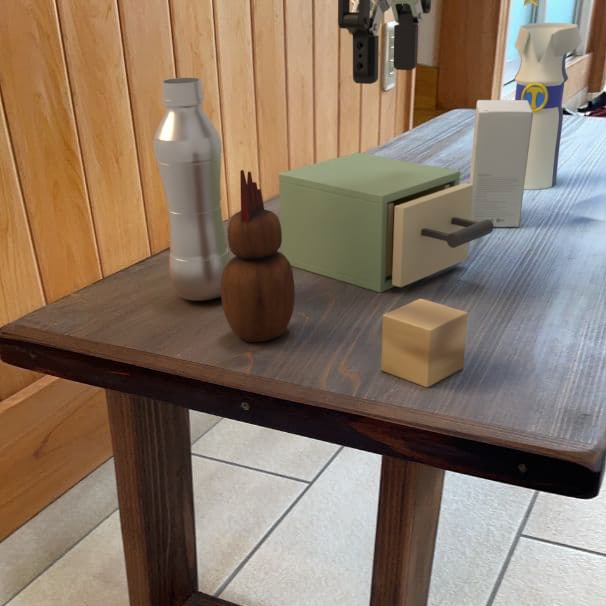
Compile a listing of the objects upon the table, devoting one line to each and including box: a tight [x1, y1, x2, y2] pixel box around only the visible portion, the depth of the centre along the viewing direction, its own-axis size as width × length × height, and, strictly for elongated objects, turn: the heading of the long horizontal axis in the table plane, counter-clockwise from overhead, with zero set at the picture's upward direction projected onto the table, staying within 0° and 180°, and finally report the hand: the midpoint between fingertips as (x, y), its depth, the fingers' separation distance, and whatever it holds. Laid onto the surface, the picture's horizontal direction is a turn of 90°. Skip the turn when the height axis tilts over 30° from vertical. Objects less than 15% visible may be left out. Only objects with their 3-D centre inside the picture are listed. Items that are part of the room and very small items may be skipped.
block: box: [380, 297, 469, 388], centre depth 71 cm, size 5×5×5 cm
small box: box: [469, 99, 533, 228], centre depth 104 cm, size 8×6×13 cm
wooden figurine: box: [220, 169, 296, 343], centre depth 76 cm, size 7×6×15 cm
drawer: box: [385, 182, 495, 288], centre depth 90 cm, size 18×11×8 cm, turn 45°
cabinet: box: [278, 152, 461, 293], centre depth 93 cm, size 15×13×10 cm
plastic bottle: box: [152, 77, 232, 301], centre depth 83 cm, size 6×7×20 cm
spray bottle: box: [514, 0, 583, 190], centre depth 114 cm, size 8×9×25 cm
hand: (386, 75), depth 80 cm, fingers open, 8 cm apart
